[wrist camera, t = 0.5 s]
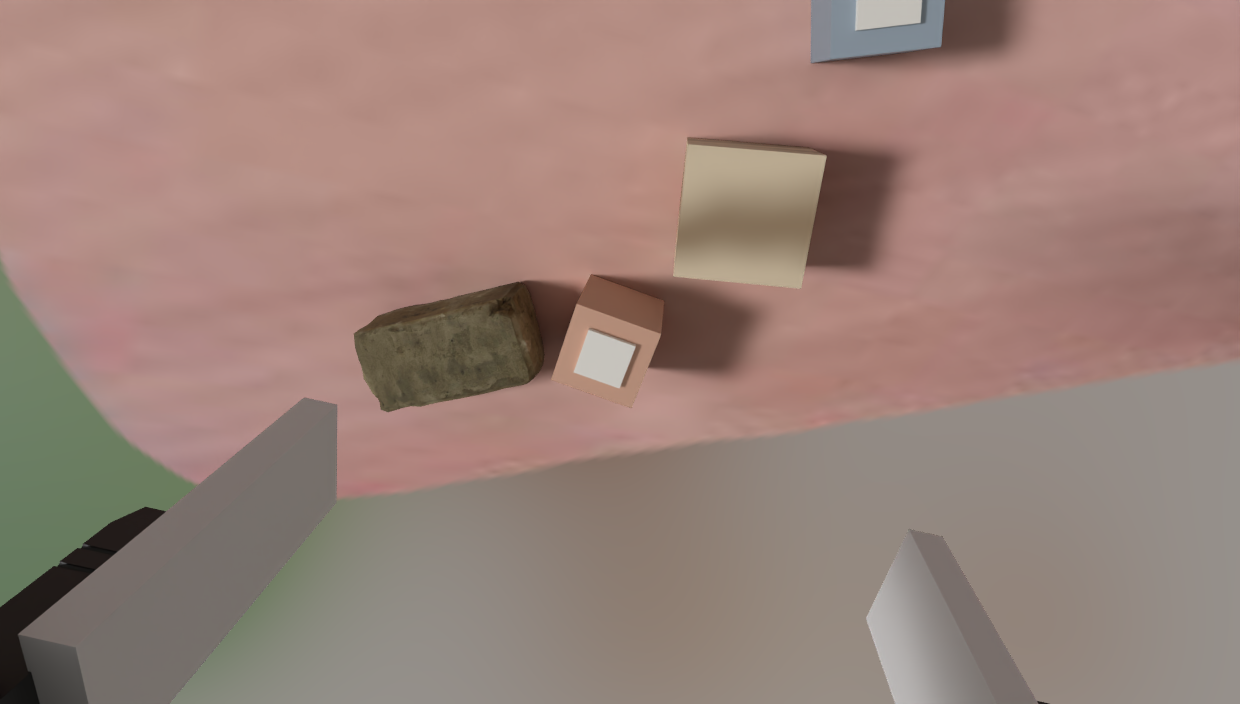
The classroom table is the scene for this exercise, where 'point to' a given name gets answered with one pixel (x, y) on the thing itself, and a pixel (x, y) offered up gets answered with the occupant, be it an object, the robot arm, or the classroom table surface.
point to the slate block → (873, 27)
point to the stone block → (451, 348)
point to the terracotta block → (610, 341)
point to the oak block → (747, 212)
